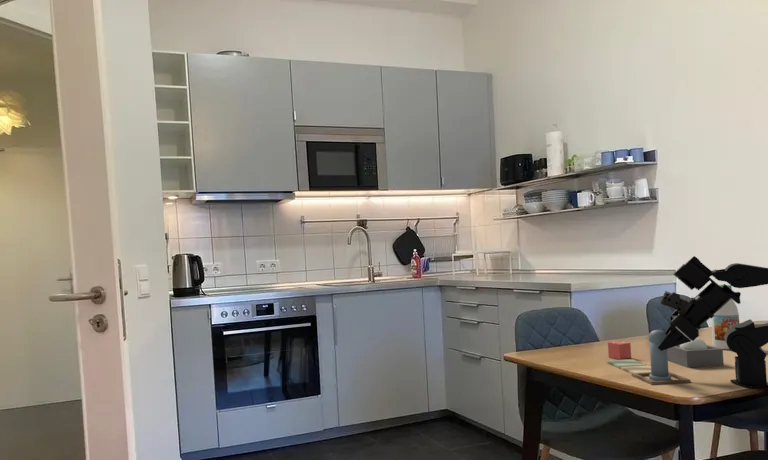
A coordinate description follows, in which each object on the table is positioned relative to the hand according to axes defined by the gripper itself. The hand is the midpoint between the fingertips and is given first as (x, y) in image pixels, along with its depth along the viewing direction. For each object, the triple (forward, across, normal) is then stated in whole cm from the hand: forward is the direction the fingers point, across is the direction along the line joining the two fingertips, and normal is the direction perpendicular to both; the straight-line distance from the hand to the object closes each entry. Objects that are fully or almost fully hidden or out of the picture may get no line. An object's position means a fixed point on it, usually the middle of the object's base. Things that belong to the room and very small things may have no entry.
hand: (659, 346), depth 146 cm
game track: (+9, -8, +2) cm, 12 cm away
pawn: (+6, 0, +6) cm, 8 cm away
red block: (+14, -26, -2) cm, 29 cm away
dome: (0, -23, +11) cm, 26 cm away
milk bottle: (-6, -50, +18) cm, 54 cm away
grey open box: (0, -23, +12) cm, 26 cm away
